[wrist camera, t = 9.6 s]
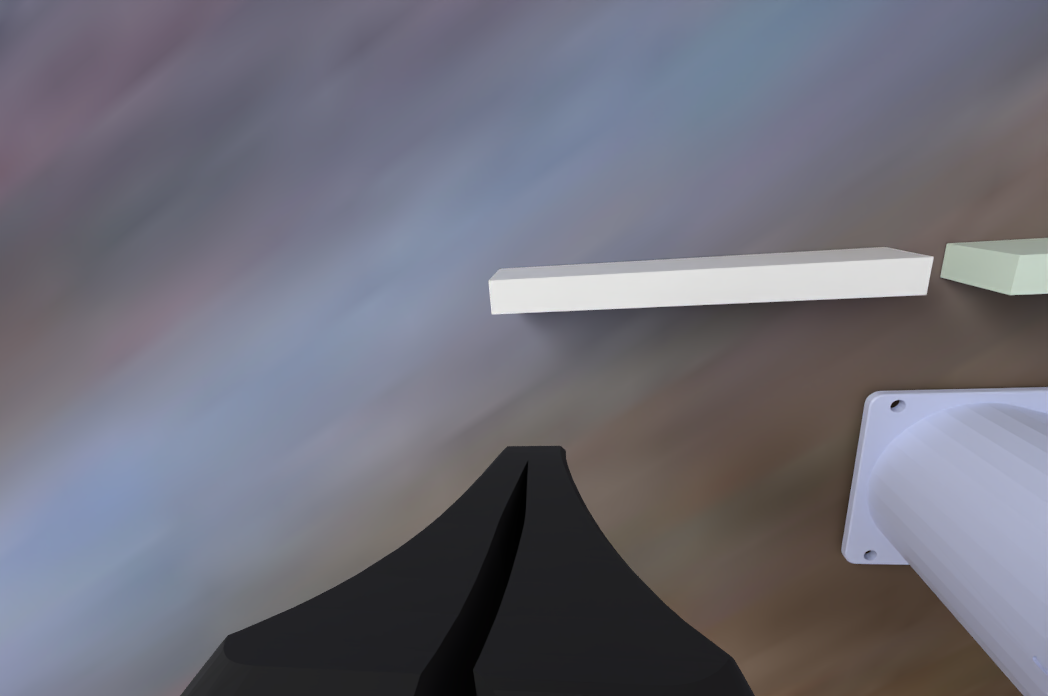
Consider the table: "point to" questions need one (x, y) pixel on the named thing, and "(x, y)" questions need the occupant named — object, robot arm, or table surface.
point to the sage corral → (999, 265)
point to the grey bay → (712, 280)
